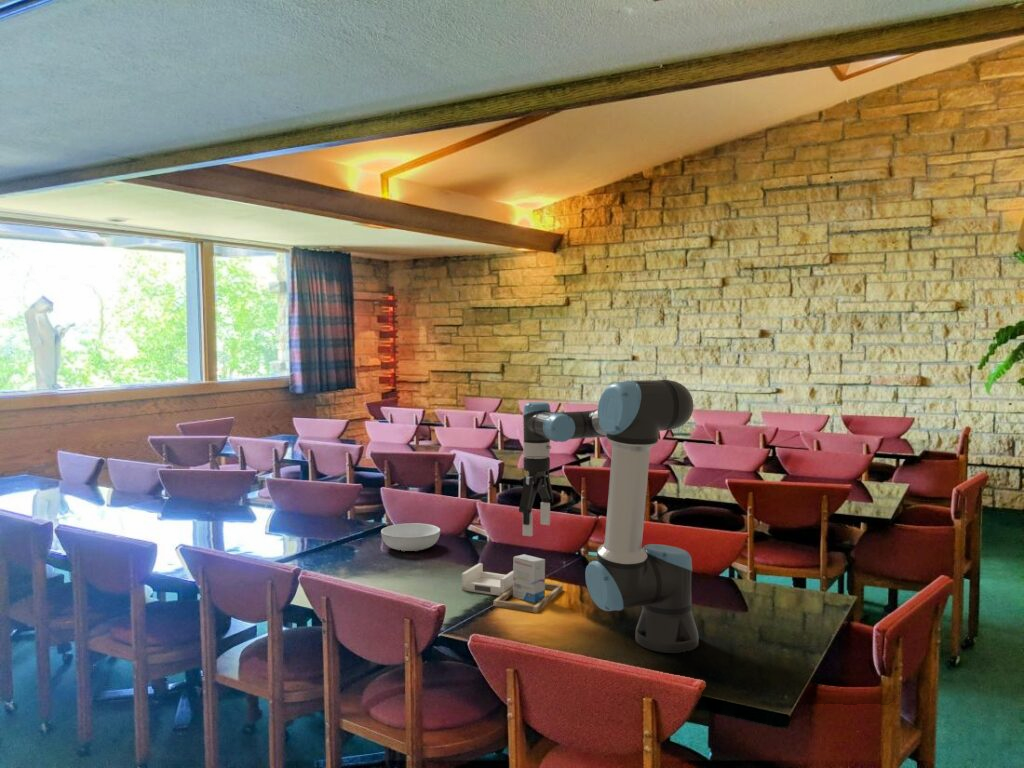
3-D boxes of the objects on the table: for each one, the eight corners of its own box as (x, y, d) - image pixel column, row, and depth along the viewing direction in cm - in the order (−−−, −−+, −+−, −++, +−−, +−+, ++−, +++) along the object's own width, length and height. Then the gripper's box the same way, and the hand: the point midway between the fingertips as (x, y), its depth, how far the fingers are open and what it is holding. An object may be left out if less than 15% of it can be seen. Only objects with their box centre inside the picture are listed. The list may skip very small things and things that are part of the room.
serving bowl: (437, 556, 257) (436, 537, 256) (376, 556, 257) (375, 537, 256) (443, 540, 277) (443, 522, 277) (387, 540, 278) (386, 522, 277)
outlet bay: (503, 596, 216) (503, 579, 215) (461, 590, 221) (461, 573, 221) (520, 584, 226) (520, 568, 226) (479, 579, 232) (479, 563, 232)
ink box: (546, 599, 213) (546, 558, 213) (534, 603, 210) (534, 562, 209) (523, 592, 219) (523, 552, 219) (512, 596, 216) (512, 556, 215)
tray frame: (536, 612, 203) (536, 607, 203) (493, 606, 208) (493, 600, 208) (562, 590, 221) (562, 585, 221) (522, 584, 226) (522, 579, 226)
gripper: (532, 464, 201) (532, 542, 202) (564, 451, 223) (563, 521, 225) (506, 462, 204) (506, 539, 205) (540, 449, 226) (540, 519, 228)
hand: (536, 530), depth 215 cm, fingers open, 13 cm apart
